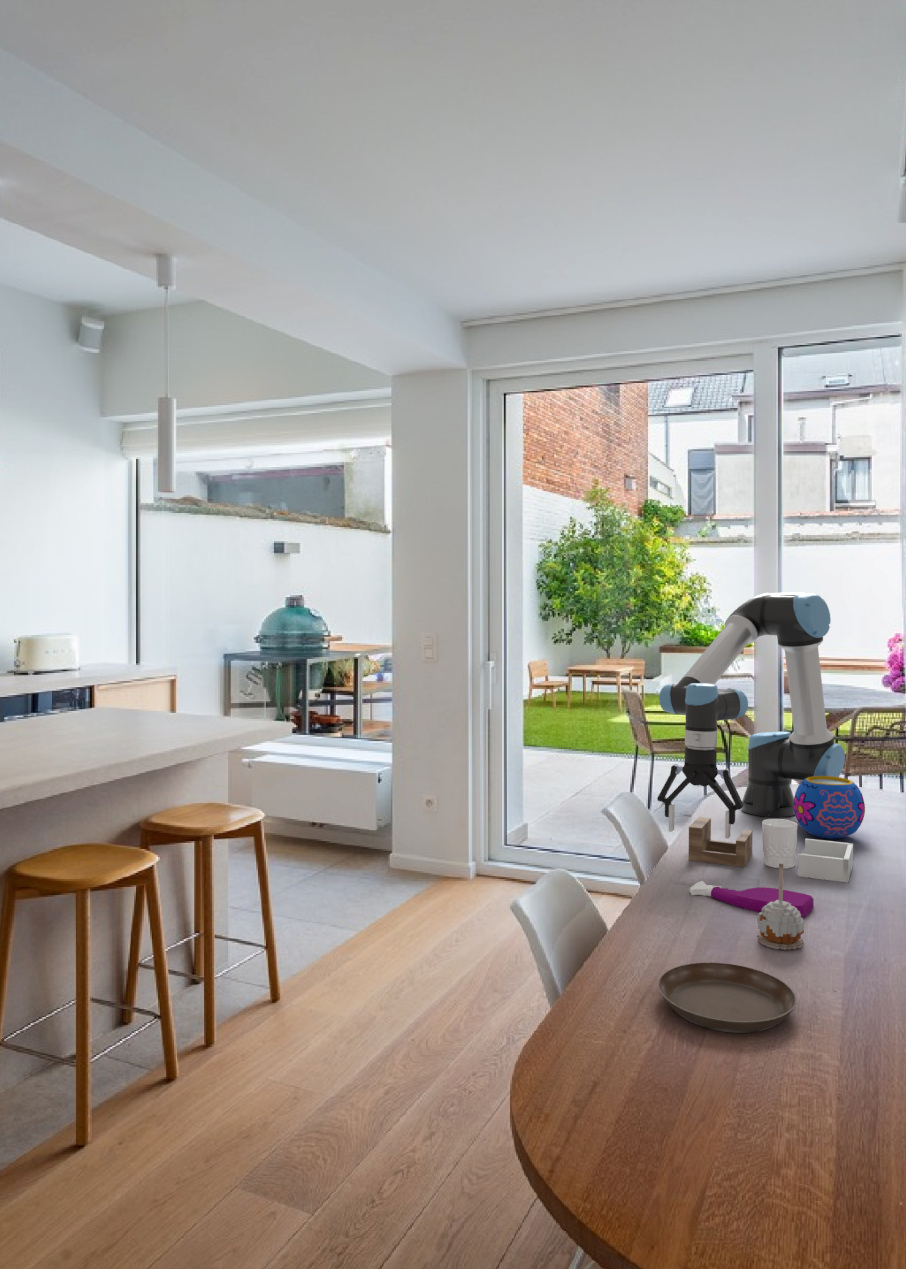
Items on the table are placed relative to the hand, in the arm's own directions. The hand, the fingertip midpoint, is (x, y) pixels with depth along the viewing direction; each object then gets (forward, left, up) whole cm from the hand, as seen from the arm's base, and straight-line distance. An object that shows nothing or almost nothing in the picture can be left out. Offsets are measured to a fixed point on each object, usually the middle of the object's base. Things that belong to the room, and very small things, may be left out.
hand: (699, 834), depth 230 cm
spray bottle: (+30, +17, -6) cm, 34 cm away
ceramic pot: (-32, +27, -6) cm, 42 cm away
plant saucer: (+82, +22, -6) cm, 85 cm away
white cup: (0, +19, -6) cm, 19 cm away
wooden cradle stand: (0, +5, -5) cm, 7 cm away
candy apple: (+51, +26, -6) cm, 58 cm away
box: (0, +29, -5) cm, 29 cm away
